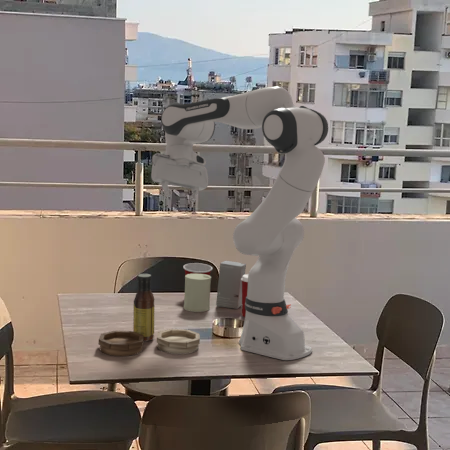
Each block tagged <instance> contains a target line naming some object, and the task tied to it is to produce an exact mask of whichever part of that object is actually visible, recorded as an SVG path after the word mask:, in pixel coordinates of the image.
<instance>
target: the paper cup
mask: <svg viewBox="0 0 450 450" xmlns="http://www.w3.org/2000/svg"><path fill="white" fill-rule="evenodd" d="M248 274H249V273H245V275H243V276H242V279H241V280H242V306H241V315H242V317H243V318H245V314H246V310H245V300H246V297H247V289H248Z"/></svg>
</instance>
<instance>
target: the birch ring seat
mask: <svg viewBox="0 0 450 450" xmlns="http://www.w3.org/2000/svg"><path fill="white" fill-rule="evenodd" d="M200 337H201V336H200V333H199V332H196V331H193V330H189V329H184V328H183V329H182V328H181V329H180V328H170V329H163V330H162V331H161V330H160V331H158V332H157V335H156V343H157V349H158V350H159V351H160V352H161V351H162V352H164V353H167V354H173V355H185V354H191V353H195V352H197V351H198V350H199V345H200V344H201V342H200V341H201V340H200Z"/></svg>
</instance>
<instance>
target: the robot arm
mask: <svg viewBox="0 0 450 450" xmlns="http://www.w3.org/2000/svg"><path fill="white" fill-rule="evenodd" d="M160 122H161V126H162V129H163V131H164V136H165V140H166V144H165V154H162V153H159V152H156V153H155V154H153V155H152V157H151V162H152V166H151V176H150V178H151V180H152V182H155V183H161V188H162V190H163V191H164V197H165V198H171V197H172V196H173V191H172V190H170V187H169V185H171V186H176V187H179V188H185V189H190V190H191V193H192V194H191V195H189V196H188V200H189V202H192V203H194V202H196V201H197V195H198V193H199V191H204V190H205V189H207V188H208V186H209V175H208V169H207V167H205V166H206V165H207V160H206V158H204V157H203V156H201V155H199V154H198V153H196V152H195V151H194V148H193V147H194V146H193V145H199V144H204V143H207V142H208V141H210V140H211V139H212V137H213V136H214V134H215V129H216V123H221V124H224V125H227V126H231V127H234V128H237V129H240V130H241V129H242V130H256V129H261V131H262V135H263V136H264V139H265V140H266V142H267V143H268V144H269V145H271V146H272V147H274V149H275V150H276V152H278V154H281V155H282V154H283V155H285V160H284V162H283V164H282V167H281V169H280V171H279V173H278V175H277V177H276V178H275V180H274V182H273V184H272V186H271V187H270V189H269V192H268V194H267V195H266V197H265V198H264V199H263V200H262V201H261V203H260V204H259V205H258V206H257V207H256V209H254V210H253V212H252V213H251V214H250V215H248V217H247V218H245V219H244V220H242V221H241V222H239V223H238V224H237V225H236V226H235V228H234V230H233V234H232V240H233V244H234V247H235V248H236V250H237V251H238V252H239V253H241V254H243V255H246V256H254V257H258V258H257V260H256V261H255V263H254V265H252V267H251V268H250V270H249V272H248V273H247V274H248V289H247V297H246V300H245V310H246V314H245V317H244V321H243V327H242V332H241V335H240V337H239V340H238V343H239V345H240V351H241V350H242V351H244V352H249V353H254V354H257V355H262V356H265V357H270V358H273V359H278V360H281V361H292V360H298V359H302V358H304V357H307V356H309V355H311V353H312V352H313V347H311V346H309V345H308V344H306V341H305V339H306V338H305V333H304V330H303V329H302V327H300V326H299V324H298V323H297V322H296V321H295V320H294V318H292V316H291V315H290V314H289V309H291V308H292V307H291V306H292V304H287V303H286V300H285V288H286V277H287V274H288V273H287V272H288V269H289V266H290V263H291V260H292V258H293V255H294V253H295V251H296V250H297V248H298V247H299V246H300V245H301V244H302V242H303V241H304V238H305V237H304V236H305V229H304V225H303V223H302V222H301V220H299V219H298V218H297V217H299V216H300V215H301V214H302V213H303V211H304V210H305V208H306V206H307V204H308V202H309V201H310V199H311V197H312V194H313V193H314V191H315V189H316V187H317V185H318V184H319V181H320V178H321V175H322V173H323V169H324V165H325V161H326V157H325V155H324V153H323V151H322V150H321V149H320V148H319V147H318V146H317V145H320V144H321V143H323V141H324V140H325V139H326V138H327V136H328V132H329V123H328V120H327V118H326V116H324V114H322V113H321V112H319V111H316V110H314V109H311V108H310V107H306V106H304V105H300V106H296V105H295V103H294V102H293V98H292V95H291V93H290V92H289V91H288V90H287V89H286V88H285V87H282V86H268V87H267V86H266V87H263V88H258V89H254V90H249V91H247V92H243V93H238V94H236V95H227V96H223V97H217V98H211V99H205V100H200V101H195V102H191V103H186V104H185V103H180V102H177V101H175V102H172V103H171V104H169V105H167V106H166V107H165V109H164V110H163V111H162V113H161V115H160Z"/></svg>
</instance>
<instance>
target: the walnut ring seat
mask: <svg viewBox="0 0 450 450" xmlns="http://www.w3.org/2000/svg"><path fill="white" fill-rule="evenodd" d="M144 342H145V341H144V336H143V335H141V334H139V333H136V332H133V331H132V330H112V331H111V330H110V331H107V332H103V333H101V334H100V335H99V337H98V345H99V351H100V352H101V353H102V354H105V355H106V356H107V355H108V356H112V357H113V356H114V357H129V356H135V355H138V354H140V353H141V352H143V346H144V345H143V344H144Z"/></svg>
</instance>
